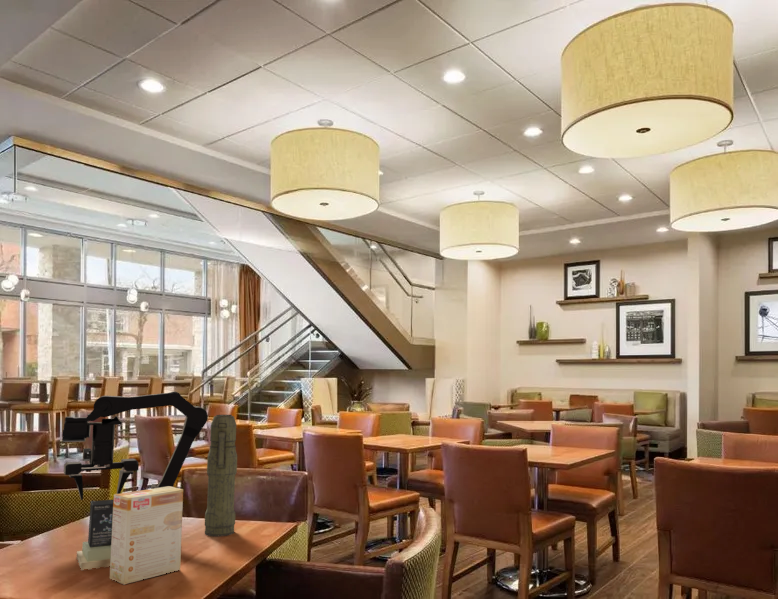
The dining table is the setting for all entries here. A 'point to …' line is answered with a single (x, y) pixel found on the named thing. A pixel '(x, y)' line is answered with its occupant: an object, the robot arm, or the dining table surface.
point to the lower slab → (91, 562)
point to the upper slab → (96, 552)
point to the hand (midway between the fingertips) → (99, 498)
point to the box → (100, 523)
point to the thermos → (221, 477)
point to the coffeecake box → (146, 534)
